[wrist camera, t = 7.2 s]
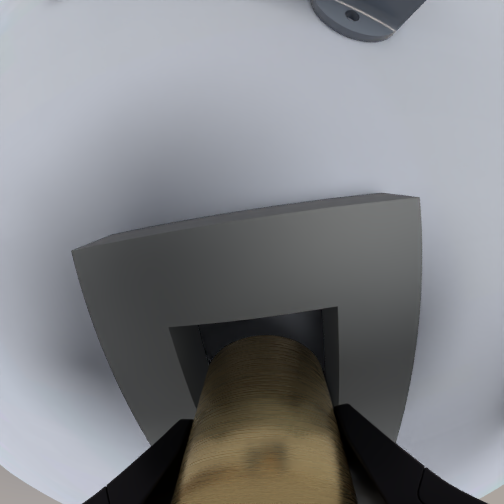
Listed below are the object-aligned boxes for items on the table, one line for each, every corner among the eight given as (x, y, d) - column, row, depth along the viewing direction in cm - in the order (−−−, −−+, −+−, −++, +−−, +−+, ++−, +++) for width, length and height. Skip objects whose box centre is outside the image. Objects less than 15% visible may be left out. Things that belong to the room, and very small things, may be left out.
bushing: (320, 326, 9) (407, 604, 1) (323, 414, 9) (361, 610, 1) (194, 341, 9) (97, 596, 1) (220, 424, 10) (187, 616, 2)
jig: (381, 192, 10) (419, 197, 7) (359, 492, 15) (366, 520, 12) (112, 234, 11) (71, 250, 8) (221, 507, 16) (218, 535, 13)
